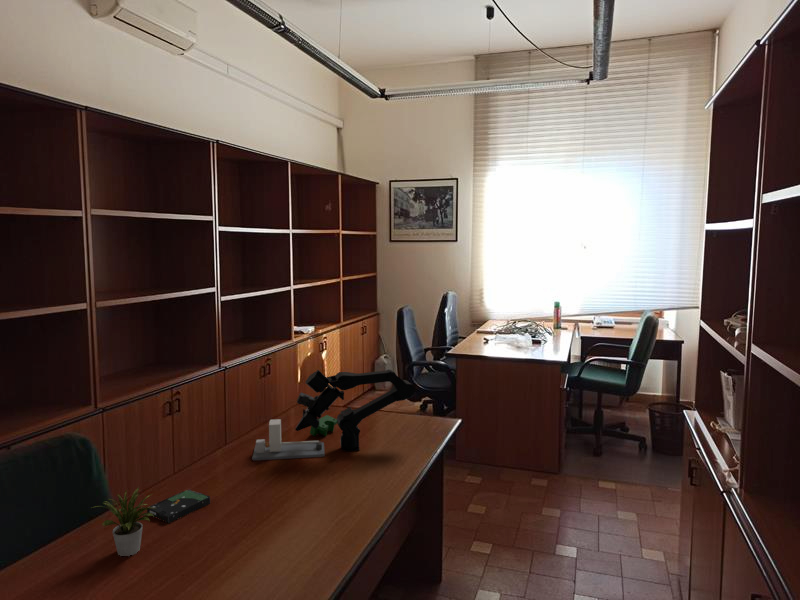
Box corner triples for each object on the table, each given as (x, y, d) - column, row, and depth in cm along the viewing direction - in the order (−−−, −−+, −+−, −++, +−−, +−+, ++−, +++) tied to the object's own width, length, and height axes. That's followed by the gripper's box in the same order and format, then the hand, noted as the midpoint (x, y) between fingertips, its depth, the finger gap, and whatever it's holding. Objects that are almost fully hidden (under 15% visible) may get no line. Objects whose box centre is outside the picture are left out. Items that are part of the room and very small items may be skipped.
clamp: (322, 446, 234) (321, 431, 229) (310, 441, 237) (309, 425, 232) (339, 428, 243) (338, 412, 238) (327, 422, 245) (326, 407, 240)
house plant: (108, 576, 138) (104, 512, 136) (84, 555, 147) (80, 494, 145) (165, 552, 149) (162, 491, 147) (140, 533, 158) (137, 476, 156)
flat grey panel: (324, 444, 224) (323, 432, 224) (324, 456, 213) (324, 443, 212) (255, 448, 221) (255, 435, 220) (252, 460, 209) (251, 447, 208)
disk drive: (169, 526, 163) (211, 504, 176) (168, 516, 163) (210, 495, 176) (146, 516, 169) (188, 496, 181) (146, 507, 168) (188, 487, 181)
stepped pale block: (281, 446, 219) (280, 419, 218) (280, 451, 213) (280, 424, 212) (270, 446, 218) (270, 419, 217) (269, 452, 212) (268, 424, 211)
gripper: (309, 379, 224) (281, 408, 224) (309, 392, 206) (278, 424, 205) (330, 398, 226) (302, 427, 226) (331, 413, 208) (301, 444, 207)
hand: (296, 430), depth 216 cm, fingers closed
